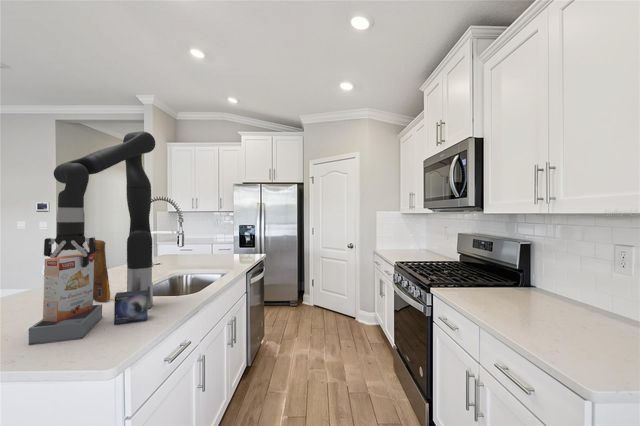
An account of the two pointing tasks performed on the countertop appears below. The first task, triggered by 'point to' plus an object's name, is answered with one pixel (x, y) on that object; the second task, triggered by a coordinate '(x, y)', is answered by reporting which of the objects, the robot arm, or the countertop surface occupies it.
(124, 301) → the small box
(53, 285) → the cracker box
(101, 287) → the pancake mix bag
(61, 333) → the tray
